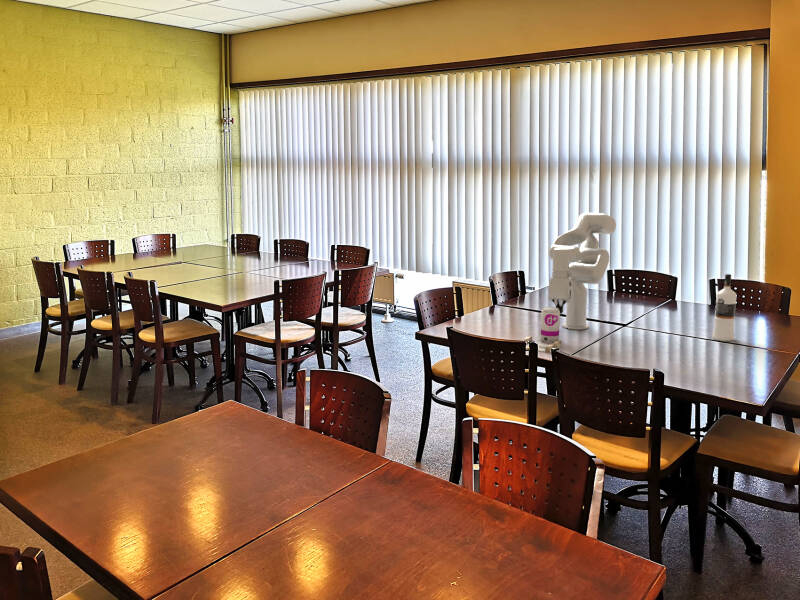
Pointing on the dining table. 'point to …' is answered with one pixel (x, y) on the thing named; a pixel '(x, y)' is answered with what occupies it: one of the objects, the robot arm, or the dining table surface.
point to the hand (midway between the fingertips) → (559, 313)
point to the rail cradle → (544, 345)
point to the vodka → (725, 312)
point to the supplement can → (550, 324)
